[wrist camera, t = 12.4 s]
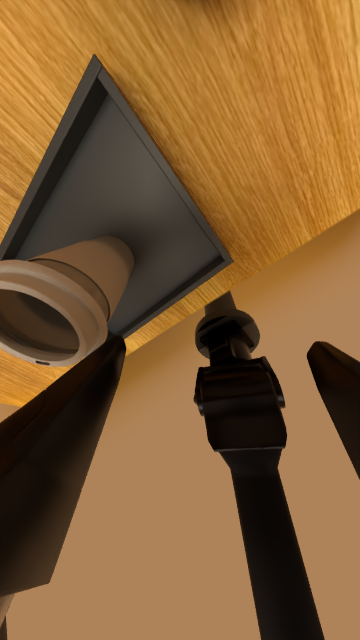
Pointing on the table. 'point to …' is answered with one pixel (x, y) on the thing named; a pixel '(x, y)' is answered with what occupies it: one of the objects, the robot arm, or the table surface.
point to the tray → (116, 203)
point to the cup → (62, 300)
